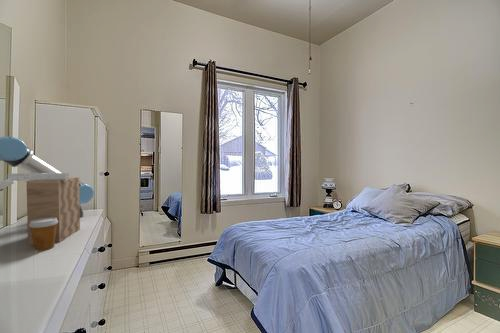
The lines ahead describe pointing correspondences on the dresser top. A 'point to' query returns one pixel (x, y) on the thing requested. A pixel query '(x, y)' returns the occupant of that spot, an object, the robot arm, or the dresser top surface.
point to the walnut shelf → (54, 205)
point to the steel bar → (38, 176)
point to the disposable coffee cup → (43, 233)
